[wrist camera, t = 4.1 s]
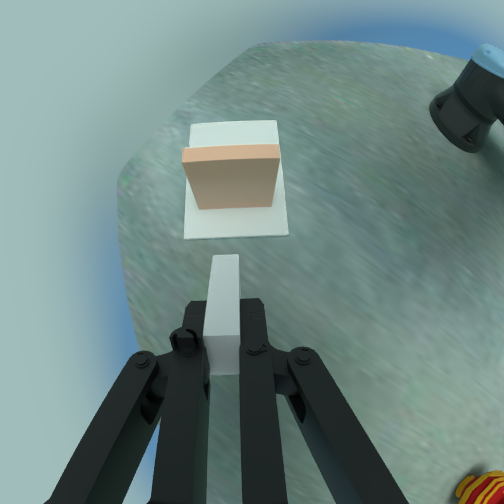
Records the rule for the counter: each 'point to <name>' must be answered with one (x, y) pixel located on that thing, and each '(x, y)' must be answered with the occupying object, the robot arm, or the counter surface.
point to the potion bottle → (482, 489)
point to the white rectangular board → (236, 219)
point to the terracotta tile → (232, 174)
